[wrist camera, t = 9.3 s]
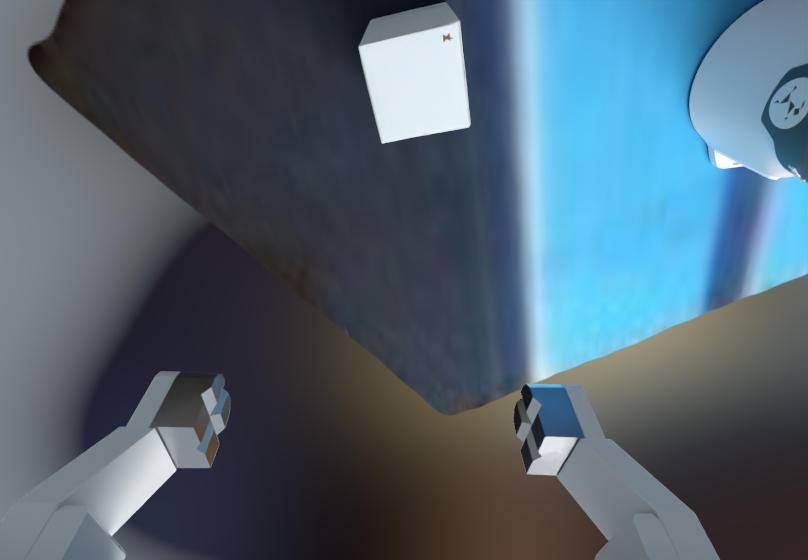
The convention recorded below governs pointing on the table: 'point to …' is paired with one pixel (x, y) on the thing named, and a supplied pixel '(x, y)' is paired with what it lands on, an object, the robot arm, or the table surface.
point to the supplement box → (416, 72)
